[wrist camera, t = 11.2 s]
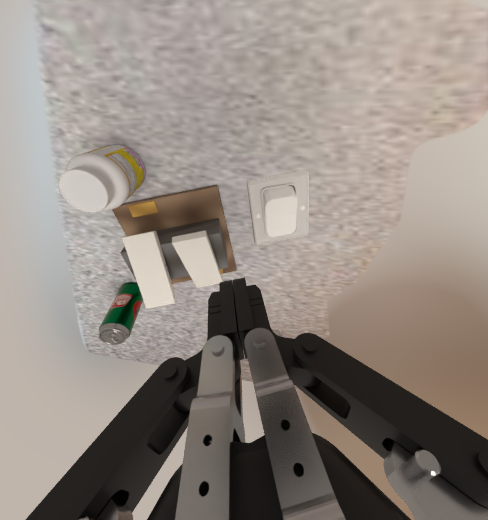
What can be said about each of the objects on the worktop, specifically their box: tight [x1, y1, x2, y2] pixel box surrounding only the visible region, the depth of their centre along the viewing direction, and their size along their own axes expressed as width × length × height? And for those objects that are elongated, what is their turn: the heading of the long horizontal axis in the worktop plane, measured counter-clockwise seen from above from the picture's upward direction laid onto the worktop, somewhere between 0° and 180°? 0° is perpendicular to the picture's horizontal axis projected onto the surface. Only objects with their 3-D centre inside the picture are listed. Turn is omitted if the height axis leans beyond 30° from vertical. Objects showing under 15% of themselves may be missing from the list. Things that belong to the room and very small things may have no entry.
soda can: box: [99, 283, 143, 345], centre depth 42 cm, size 5×5×12 cm
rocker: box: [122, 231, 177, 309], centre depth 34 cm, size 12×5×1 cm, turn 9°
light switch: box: [247, 170, 309, 245], centre depth 40 cm, size 11×4×13 cm
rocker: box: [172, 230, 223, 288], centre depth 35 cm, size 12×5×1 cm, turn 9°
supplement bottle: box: [59, 145, 145, 213], centre depth 28 cm, size 7×7×13 cm
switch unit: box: [112, 185, 237, 284], centre depth 39 cm, size 18×18×7 cm
